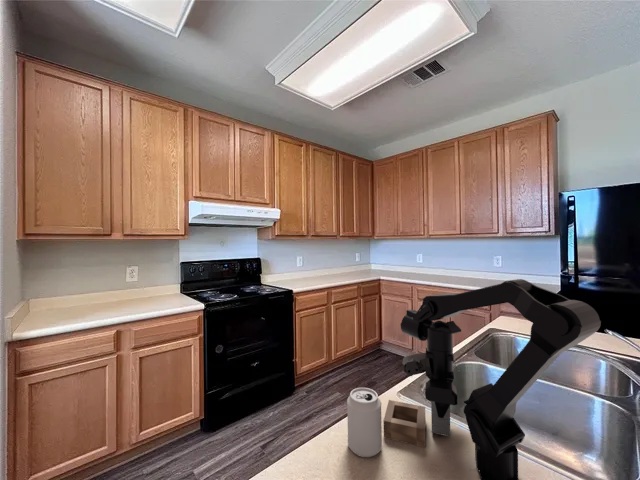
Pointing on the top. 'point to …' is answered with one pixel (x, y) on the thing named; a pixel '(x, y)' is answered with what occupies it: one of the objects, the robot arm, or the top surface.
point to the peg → (440, 421)
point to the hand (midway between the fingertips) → (440, 412)
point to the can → (364, 422)
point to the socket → (405, 423)
